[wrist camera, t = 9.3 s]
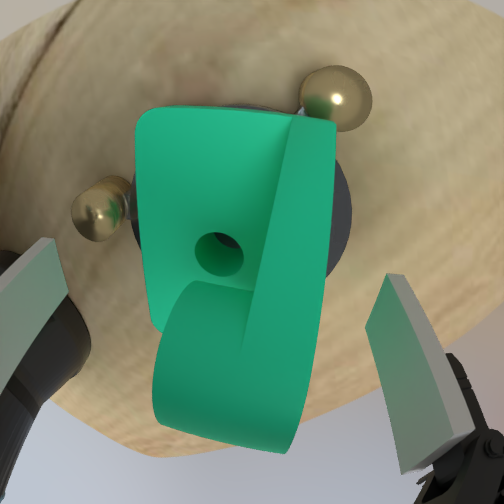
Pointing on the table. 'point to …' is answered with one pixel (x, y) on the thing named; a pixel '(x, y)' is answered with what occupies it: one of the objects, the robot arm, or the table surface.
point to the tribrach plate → (310, 96)
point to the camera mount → (234, 265)
